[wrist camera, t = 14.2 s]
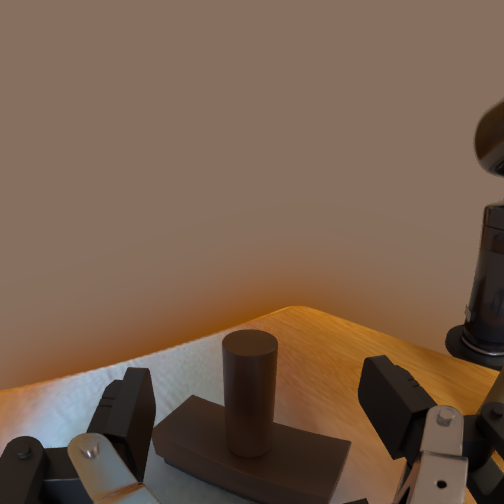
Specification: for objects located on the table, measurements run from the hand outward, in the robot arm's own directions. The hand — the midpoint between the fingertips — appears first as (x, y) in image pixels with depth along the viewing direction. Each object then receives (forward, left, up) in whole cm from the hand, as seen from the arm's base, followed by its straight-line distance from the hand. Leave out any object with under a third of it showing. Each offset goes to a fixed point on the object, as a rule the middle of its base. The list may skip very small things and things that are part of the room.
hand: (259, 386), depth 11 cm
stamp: (-2, -5, -12) cm, 13 cm away
